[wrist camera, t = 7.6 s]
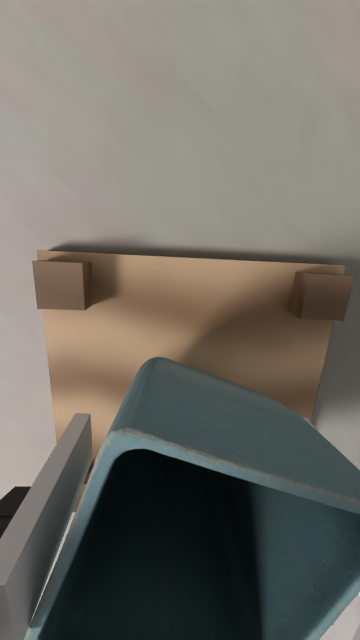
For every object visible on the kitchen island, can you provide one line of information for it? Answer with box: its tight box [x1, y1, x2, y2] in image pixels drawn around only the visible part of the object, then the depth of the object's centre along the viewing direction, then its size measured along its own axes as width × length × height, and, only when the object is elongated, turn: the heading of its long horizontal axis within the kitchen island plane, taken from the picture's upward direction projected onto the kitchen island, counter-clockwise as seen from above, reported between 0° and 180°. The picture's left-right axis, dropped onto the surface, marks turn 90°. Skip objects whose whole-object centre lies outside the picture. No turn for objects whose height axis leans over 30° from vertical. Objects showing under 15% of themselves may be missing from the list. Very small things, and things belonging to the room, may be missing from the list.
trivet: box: [32, 250, 354, 512], centre depth 16 cm, size 18×18×3 cm
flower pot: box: [24, 357, 360, 640], centre depth 11 cm, size 9×9×9 cm
